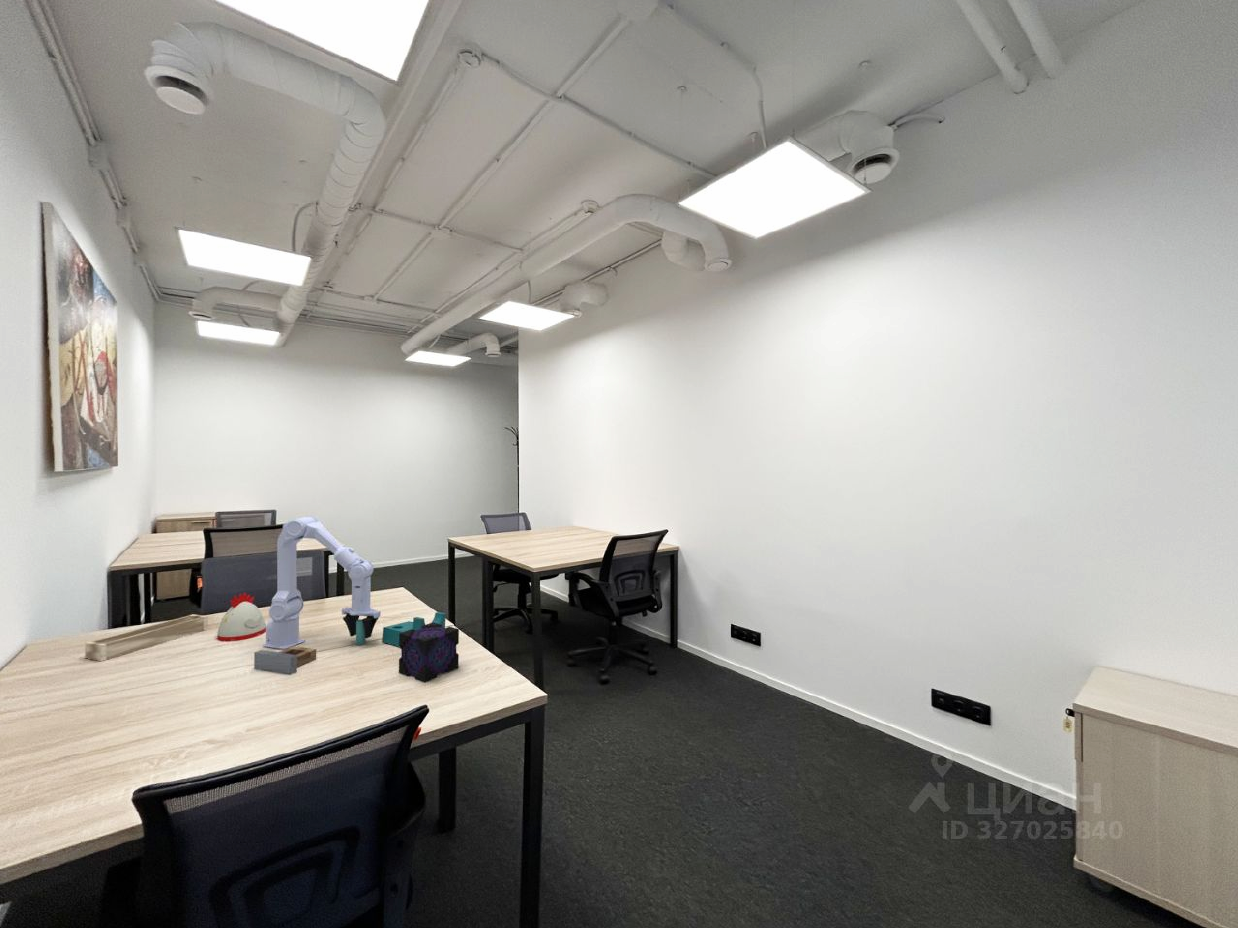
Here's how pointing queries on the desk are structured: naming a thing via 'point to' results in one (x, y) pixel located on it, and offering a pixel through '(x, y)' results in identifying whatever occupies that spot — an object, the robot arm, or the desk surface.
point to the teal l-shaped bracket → (408, 628)
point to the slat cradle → (144, 637)
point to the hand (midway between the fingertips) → (360, 636)
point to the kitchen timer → (241, 621)
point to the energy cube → (428, 651)
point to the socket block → (301, 654)
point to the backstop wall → (275, 662)
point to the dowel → (360, 633)
